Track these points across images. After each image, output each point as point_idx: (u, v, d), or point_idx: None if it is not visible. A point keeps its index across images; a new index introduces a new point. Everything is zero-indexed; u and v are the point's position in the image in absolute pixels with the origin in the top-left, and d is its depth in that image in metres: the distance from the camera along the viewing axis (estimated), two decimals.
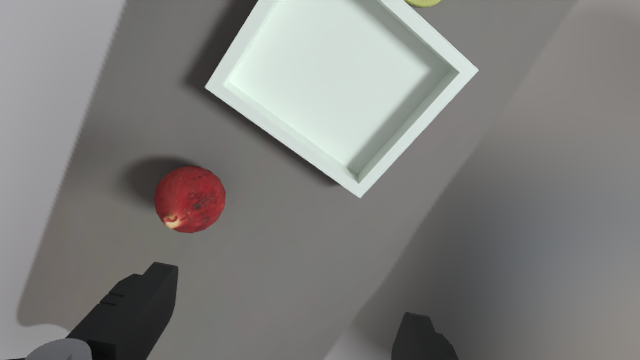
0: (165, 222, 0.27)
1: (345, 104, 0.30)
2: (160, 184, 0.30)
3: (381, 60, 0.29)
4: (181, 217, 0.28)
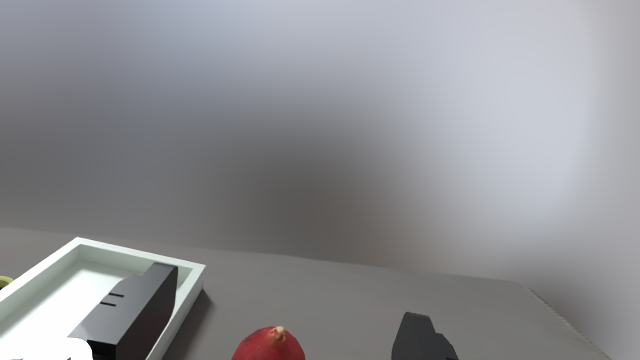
0: (279, 333, 0.25)
1: None
2: None
3: (75, 295, 0.33)
4: (270, 330, 0.26)
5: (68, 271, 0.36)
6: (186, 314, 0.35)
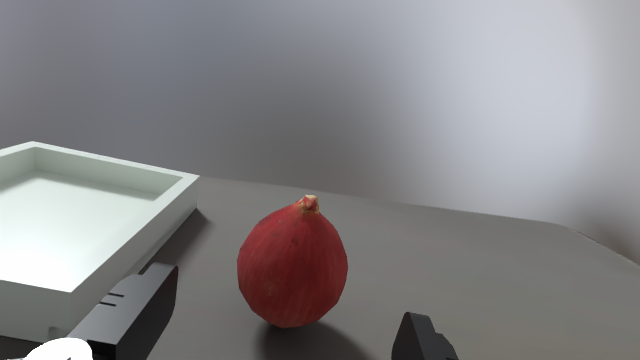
0: (311, 200, 0.17)
1: (89, 212, 0.25)
2: (284, 279, 0.16)
3: (23, 199, 0.24)
4: (296, 202, 0.18)
5: (18, 178, 0.27)
6: (175, 228, 0.27)
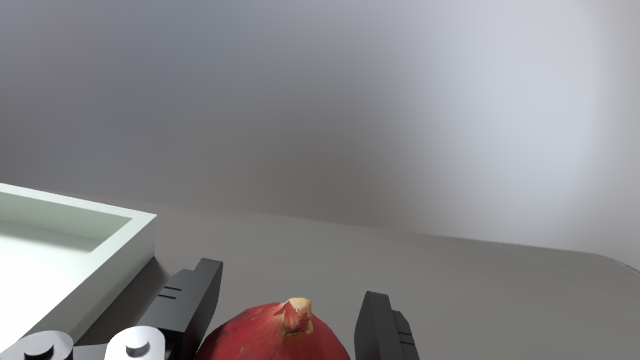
0: (299, 313, 0.09)
1: None
2: None
3: None
4: (273, 307, 0.10)
5: None
6: (114, 295, 0.19)
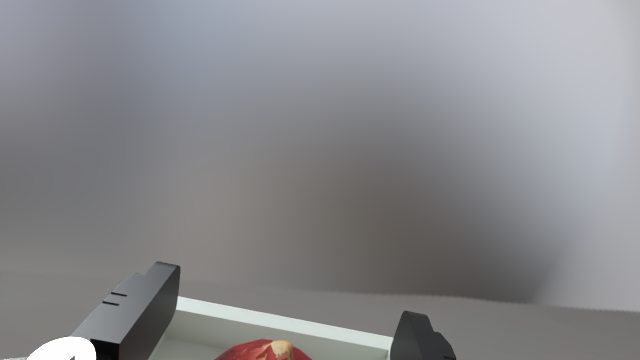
0: (279, 358, 0.10)
1: None
2: None
3: None
4: (257, 349, 0.11)
5: None
6: None
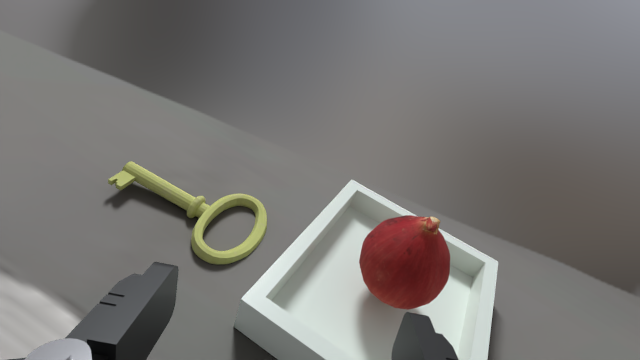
0: (433, 223, 0.21)
1: None
2: (392, 275, 0.21)
3: (357, 255, 0.28)
4: (421, 218, 0.22)
5: (342, 218, 0.31)
6: None
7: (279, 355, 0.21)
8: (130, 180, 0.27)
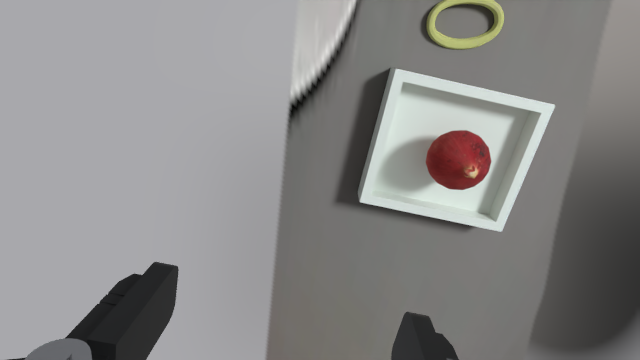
0: (468, 173, 0.31)
1: None
2: (435, 153, 0.33)
3: (473, 128, 0.37)
4: (476, 166, 0.31)
5: (510, 108, 0.36)
6: None
7: (382, 100, 0.37)
8: None
